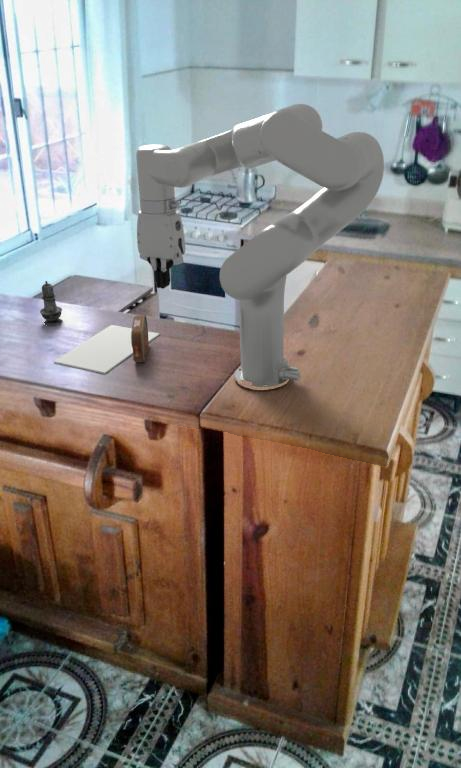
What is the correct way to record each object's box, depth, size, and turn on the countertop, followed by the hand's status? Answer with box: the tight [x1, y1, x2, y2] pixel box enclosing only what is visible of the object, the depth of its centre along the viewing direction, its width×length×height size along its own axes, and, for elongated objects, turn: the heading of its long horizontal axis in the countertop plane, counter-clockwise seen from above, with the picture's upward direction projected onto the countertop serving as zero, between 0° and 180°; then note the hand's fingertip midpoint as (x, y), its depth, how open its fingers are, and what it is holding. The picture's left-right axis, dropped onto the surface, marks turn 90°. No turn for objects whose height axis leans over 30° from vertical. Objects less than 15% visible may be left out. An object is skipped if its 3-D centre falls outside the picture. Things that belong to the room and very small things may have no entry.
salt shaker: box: [39, 280, 64, 327], centre depth 190 cm, size 6×6×12 cm
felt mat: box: [53, 324, 160, 374], centre depth 177 cm, size 15×24×1 cm, turn 154°
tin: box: [131, 314, 149, 363], centre depth 171 cm, size 15×3×8 cm, turn 2°
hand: (163, 286), depth 161 cm, fingers closed
